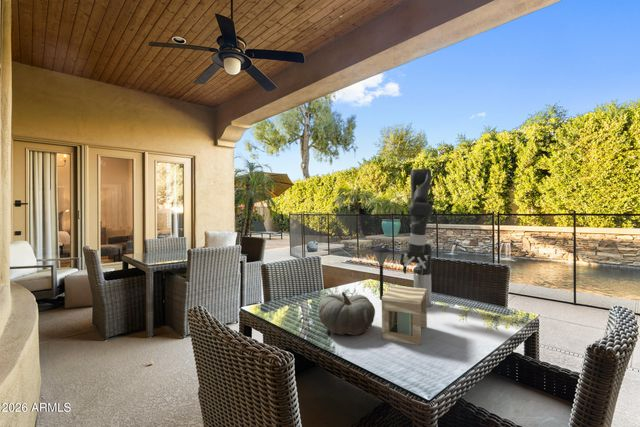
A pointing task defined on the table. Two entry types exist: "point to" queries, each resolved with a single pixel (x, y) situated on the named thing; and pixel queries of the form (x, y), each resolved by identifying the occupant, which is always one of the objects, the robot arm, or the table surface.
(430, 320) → the table surface
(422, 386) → the table surface
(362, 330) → the gourd
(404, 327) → the block
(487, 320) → the table surface
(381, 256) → the solar garden light
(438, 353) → the table surface
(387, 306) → the box
